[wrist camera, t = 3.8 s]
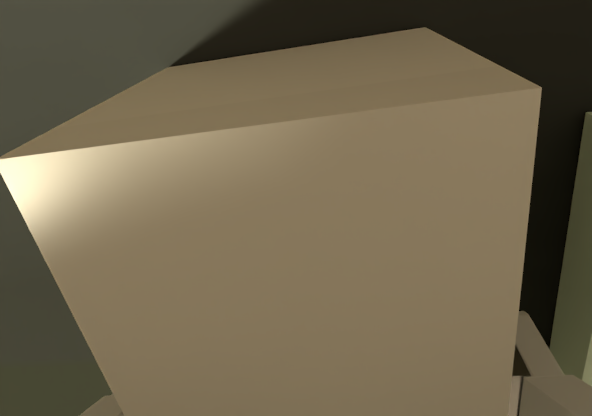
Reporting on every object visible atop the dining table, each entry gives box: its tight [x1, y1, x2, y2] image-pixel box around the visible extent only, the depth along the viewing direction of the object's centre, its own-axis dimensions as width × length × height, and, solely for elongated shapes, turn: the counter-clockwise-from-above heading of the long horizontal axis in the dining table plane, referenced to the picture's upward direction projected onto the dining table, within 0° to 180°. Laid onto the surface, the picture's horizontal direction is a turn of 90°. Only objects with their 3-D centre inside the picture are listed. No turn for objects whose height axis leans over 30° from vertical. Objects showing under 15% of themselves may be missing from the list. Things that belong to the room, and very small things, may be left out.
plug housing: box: [0, 27, 542, 416], centre depth 9 cm, size 12×5×5 cm, turn 9°
